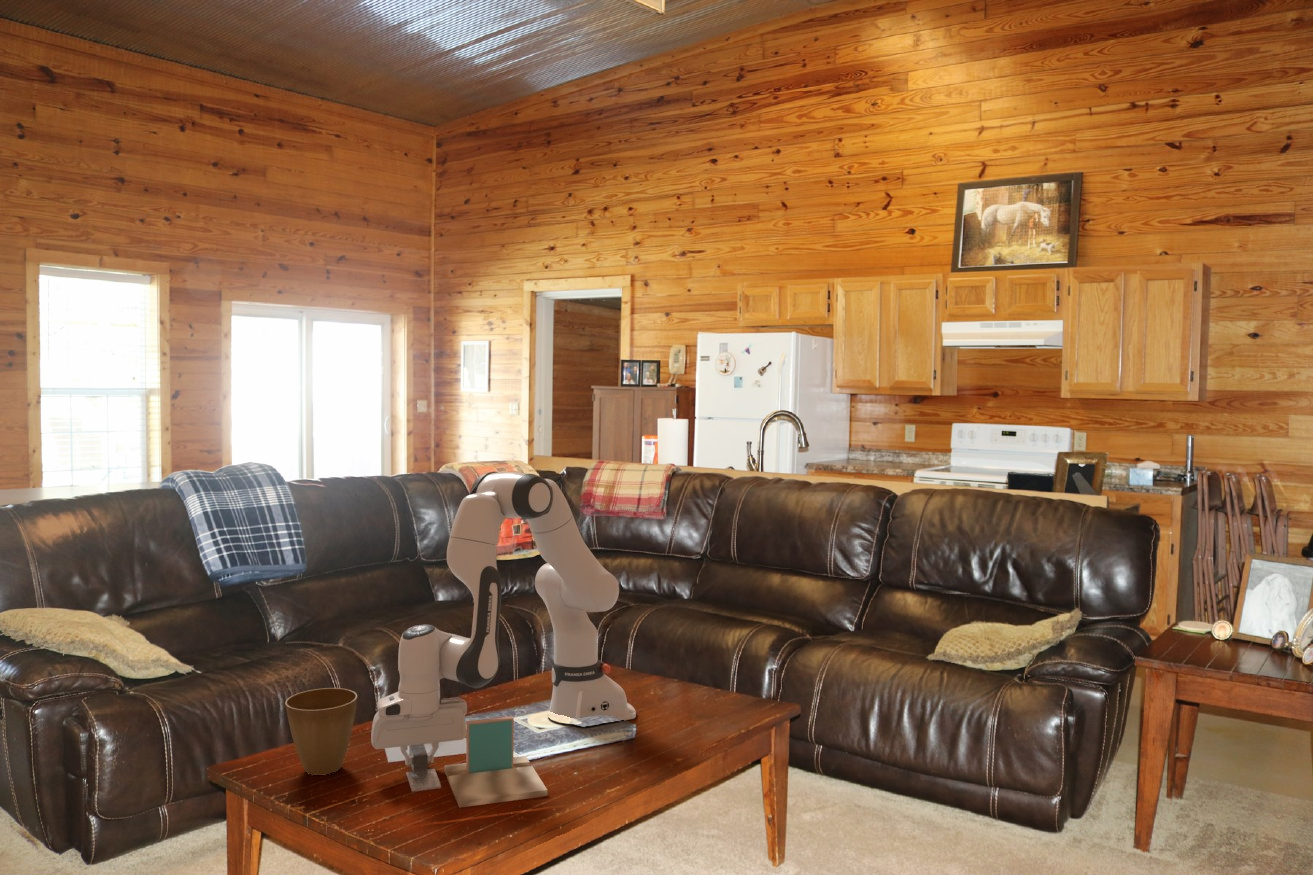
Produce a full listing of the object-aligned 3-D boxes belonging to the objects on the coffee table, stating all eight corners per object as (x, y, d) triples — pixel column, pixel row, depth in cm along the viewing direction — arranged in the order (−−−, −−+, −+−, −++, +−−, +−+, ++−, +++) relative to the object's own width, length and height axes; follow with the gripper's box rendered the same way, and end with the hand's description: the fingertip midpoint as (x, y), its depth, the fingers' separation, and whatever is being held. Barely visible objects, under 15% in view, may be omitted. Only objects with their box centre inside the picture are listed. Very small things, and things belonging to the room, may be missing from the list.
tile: (512, 770, 221) (512, 716, 221) (513, 772, 220) (513, 718, 220) (466, 775, 218) (466, 721, 217) (467, 778, 217) (467, 723, 216)
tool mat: (479, 737, 242) (479, 736, 242) (487, 752, 233) (487, 750, 233) (384, 748, 235) (384, 746, 235) (388, 763, 225) (388, 762, 225)
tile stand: (525, 762, 227) (525, 755, 227) (547, 797, 208) (547, 789, 208) (444, 772, 221) (444, 765, 221) (459, 809, 202) (459, 801, 202)
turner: (402, 762, 227) (402, 744, 226) (429, 759, 229) (429, 741, 228) (411, 793, 210) (411, 774, 209) (441, 789, 212) (441, 770, 211)
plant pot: (301, 756, 229) (300, 687, 228) (366, 758, 229) (366, 688, 228) (274, 782, 214) (273, 708, 214) (344, 784, 214) (343, 709, 213)
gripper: (464, 692, 228) (464, 752, 228) (370, 701, 221) (370, 763, 221) (469, 700, 222) (469, 762, 222) (372, 709, 215) (372, 773, 215)
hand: (419, 763), depth 222 cm, fingers closed on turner, 3 cm apart
